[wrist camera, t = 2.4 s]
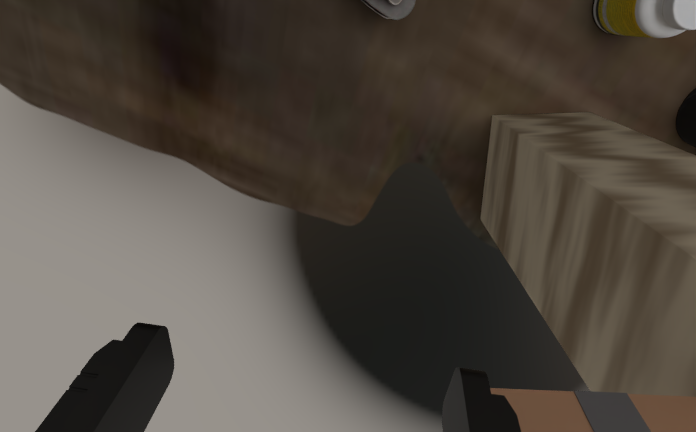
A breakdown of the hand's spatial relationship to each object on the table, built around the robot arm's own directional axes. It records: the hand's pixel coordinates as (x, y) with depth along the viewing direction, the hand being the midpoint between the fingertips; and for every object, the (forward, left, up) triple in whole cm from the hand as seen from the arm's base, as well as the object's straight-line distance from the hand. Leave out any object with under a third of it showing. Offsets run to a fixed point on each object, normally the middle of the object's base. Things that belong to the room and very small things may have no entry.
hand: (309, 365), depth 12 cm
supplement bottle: (+6, +28, -35) cm, 45 cm away
